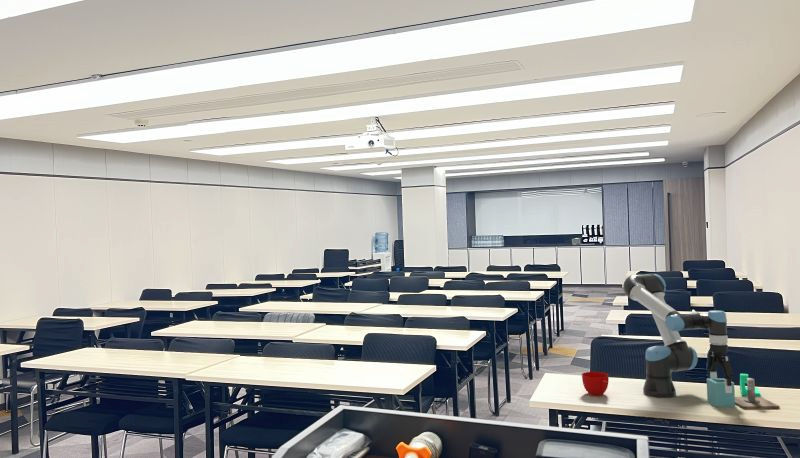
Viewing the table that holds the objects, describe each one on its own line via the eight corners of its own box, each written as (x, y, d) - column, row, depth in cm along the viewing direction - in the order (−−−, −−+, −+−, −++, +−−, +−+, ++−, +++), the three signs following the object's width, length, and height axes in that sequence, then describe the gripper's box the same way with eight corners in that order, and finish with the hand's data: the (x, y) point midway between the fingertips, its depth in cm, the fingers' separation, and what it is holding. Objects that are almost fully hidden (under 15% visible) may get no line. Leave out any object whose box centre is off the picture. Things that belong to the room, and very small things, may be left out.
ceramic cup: (595, 400, 278) (594, 380, 279) (577, 392, 295) (577, 372, 295) (619, 398, 281) (618, 378, 281) (600, 389, 298) (599, 370, 298)
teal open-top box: (716, 406, 263) (715, 382, 263) (707, 401, 271) (706, 378, 272) (735, 406, 262) (734, 382, 263) (725, 401, 271) (724, 377, 271)
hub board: (743, 409, 259) (742, 383, 259) (725, 399, 274) (724, 375, 275) (779, 408, 258) (778, 383, 258) (759, 398, 274) (758, 374, 274)
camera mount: (760, 399, 274) (759, 377, 274) (742, 397, 277) (741, 376, 277) (757, 392, 284) (756, 372, 285) (740, 391, 288) (739, 371, 288)
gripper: (741, 348, 255) (743, 395, 254) (713, 339, 280) (716, 382, 279) (723, 348, 255) (726, 396, 254) (698, 339, 280) (700, 382, 279)
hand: (721, 389), depth 267 cm, fingers open, 13 cm apart
